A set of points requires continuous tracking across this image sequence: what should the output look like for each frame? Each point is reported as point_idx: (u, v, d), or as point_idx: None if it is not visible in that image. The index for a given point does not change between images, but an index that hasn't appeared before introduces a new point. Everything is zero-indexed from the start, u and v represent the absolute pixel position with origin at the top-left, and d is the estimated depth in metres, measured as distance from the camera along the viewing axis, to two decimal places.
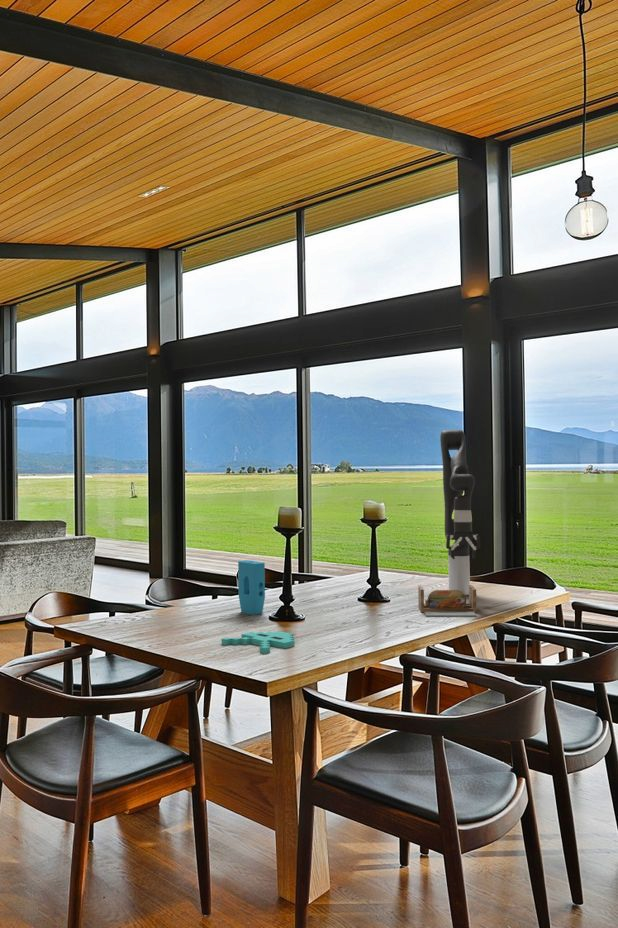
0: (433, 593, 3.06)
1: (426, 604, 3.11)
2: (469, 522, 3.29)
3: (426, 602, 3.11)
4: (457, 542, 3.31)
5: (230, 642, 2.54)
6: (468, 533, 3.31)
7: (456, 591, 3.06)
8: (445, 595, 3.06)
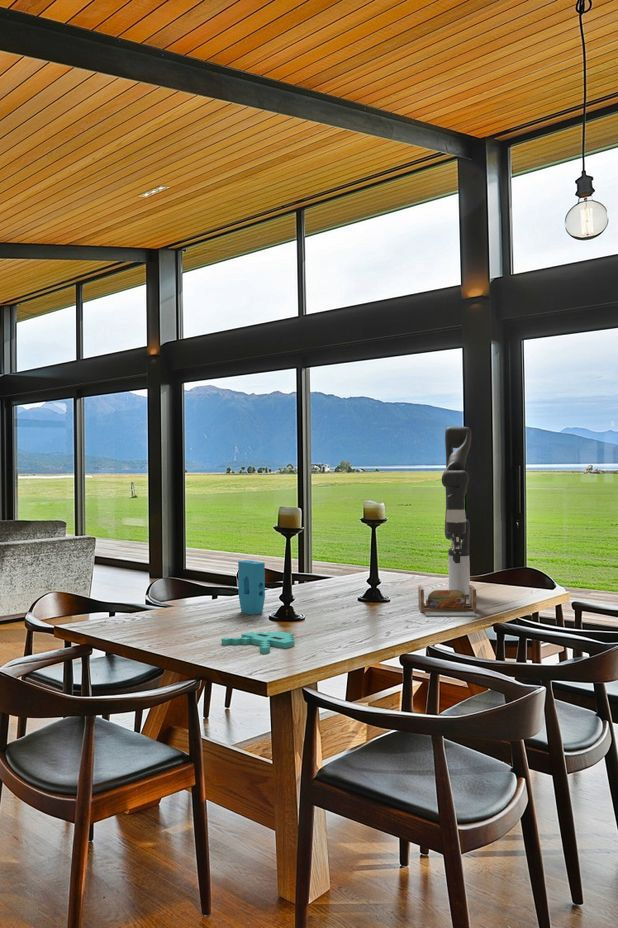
0: (433, 593, 3.06)
1: (427, 604, 3.11)
2: None
3: (427, 602, 3.11)
4: None
5: (230, 642, 2.54)
6: None
7: (456, 591, 3.06)
8: (444, 595, 3.06)
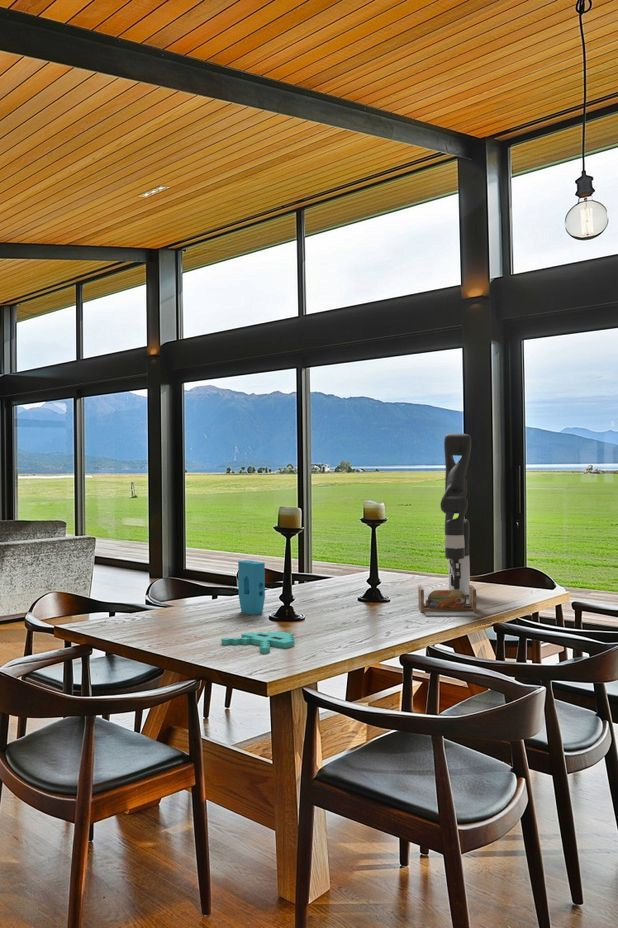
0: (433, 593, 3.06)
1: (426, 604, 3.11)
2: None
3: (426, 602, 3.11)
4: None
5: (230, 642, 2.54)
6: None
7: (456, 591, 3.06)
8: (444, 595, 3.06)
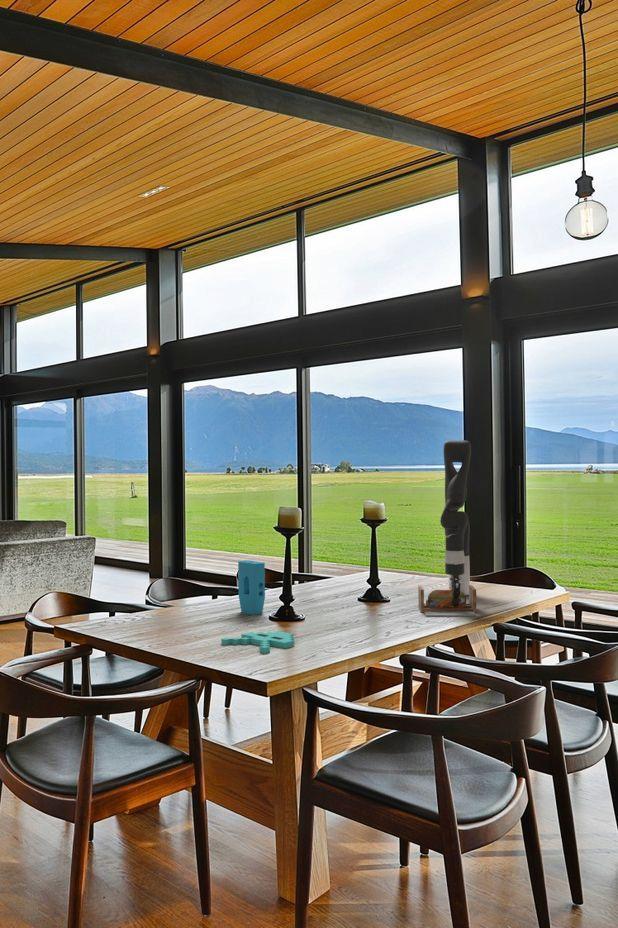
0: (433, 593, 3.06)
1: (426, 604, 3.11)
2: None
3: (426, 602, 3.11)
4: None
5: (230, 642, 2.54)
6: None
7: None
8: (445, 595, 3.06)
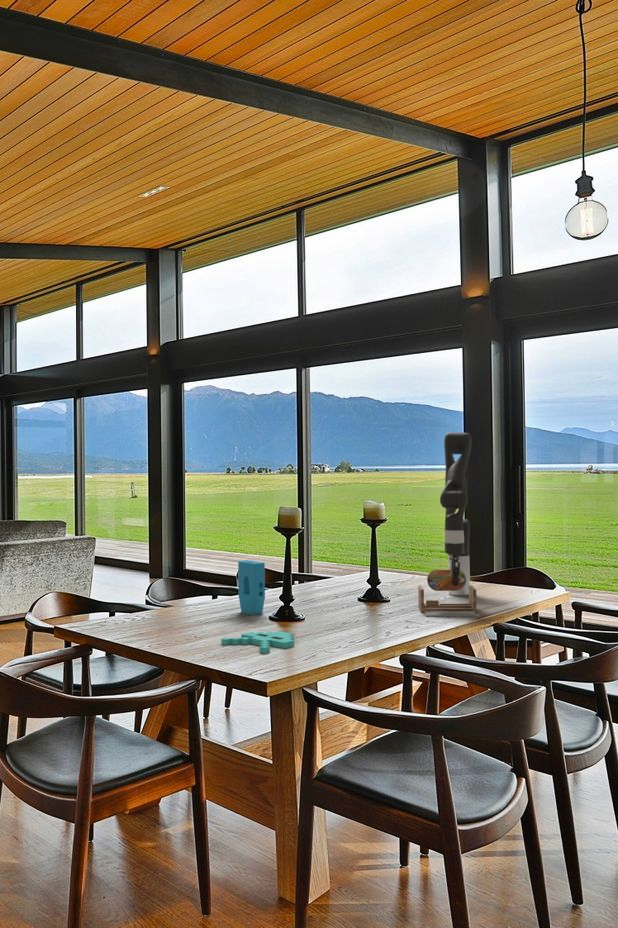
0: (433, 572, 3.06)
1: (426, 604, 3.11)
2: None
3: (426, 602, 3.11)
4: None
5: (230, 642, 2.54)
6: None
7: None
8: (444, 575, 3.06)
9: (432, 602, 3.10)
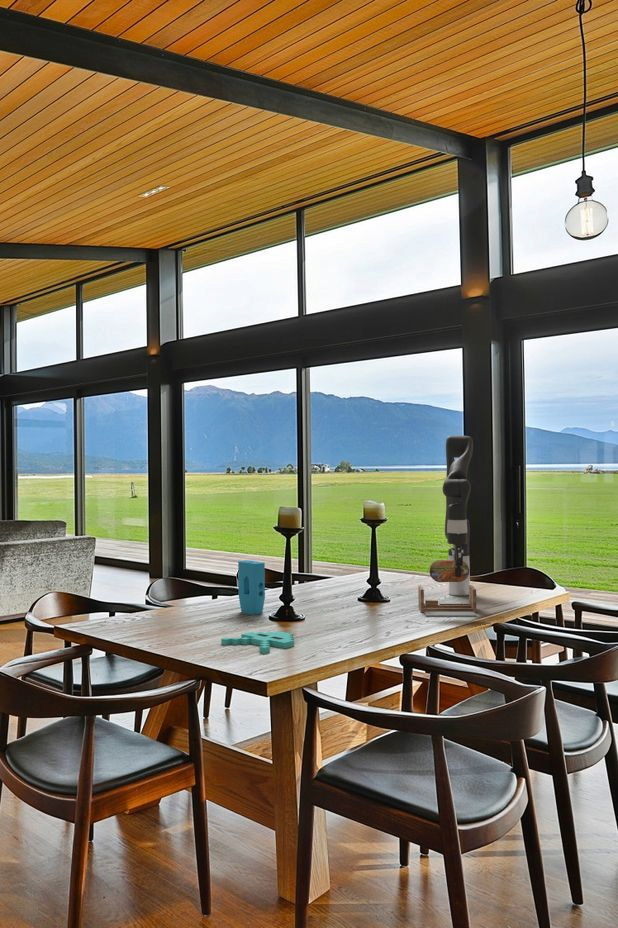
0: (435, 563, 2.98)
1: (425, 604, 3.11)
2: None
3: (425, 602, 3.11)
4: None
5: (230, 642, 2.54)
6: None
7: (459, 561, 2.97)
8: (447, 566, 2.98)
9: (431, 602, 3.10)
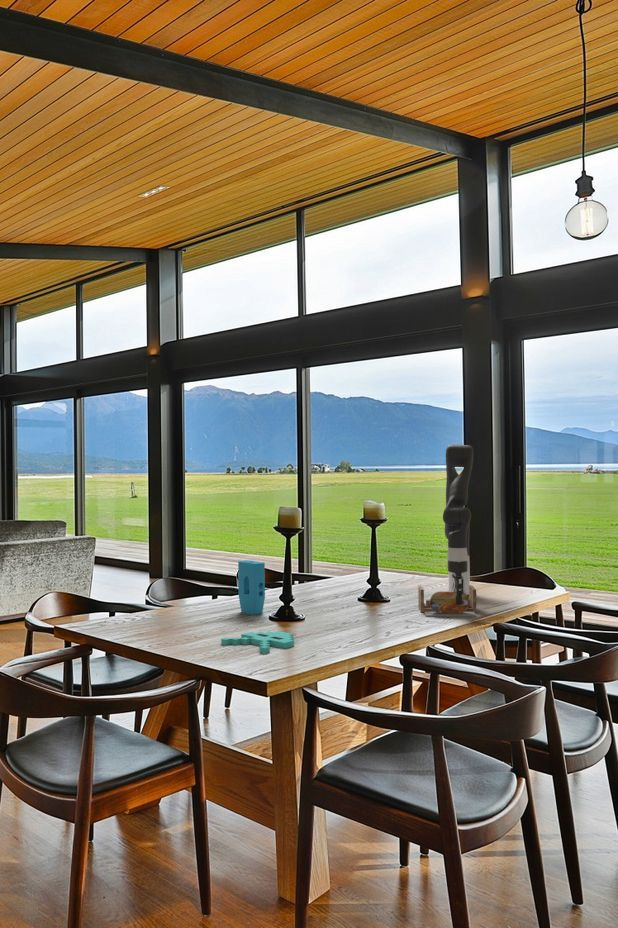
0: (435, 594, 2.99)
1: (426, 604, 3.11)
2: None
3: (426, 602, 3.11)
4: None
5: (230, 642, 2.54)
6: None
7: None
8: (447, 597, 2.98)
9: None
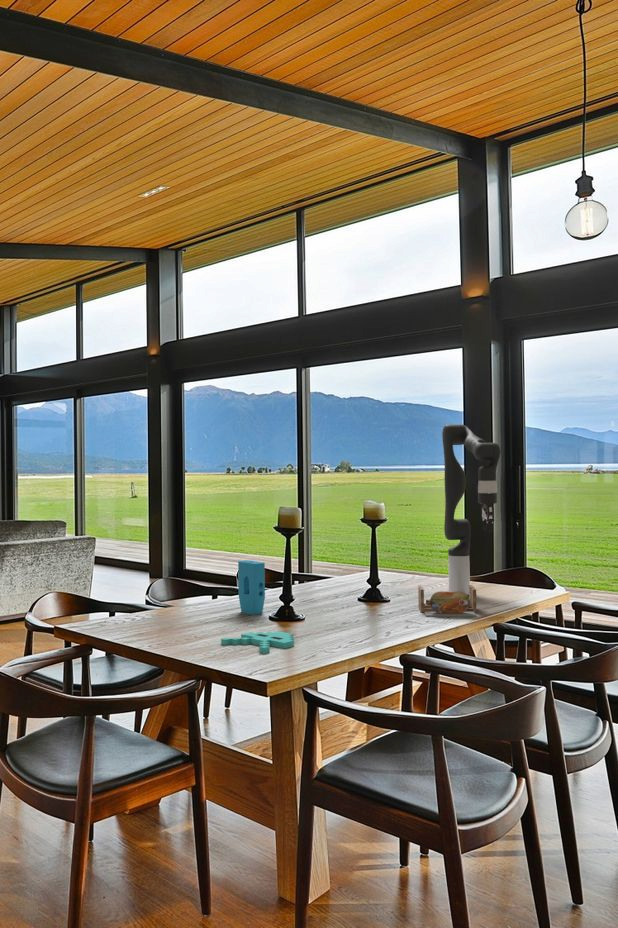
0: (435, 594, 2.99)
1: (426, 604, 3.12)
2: None
3: (426, 602, 3.12)
4: None
5: (230, 642, 2.53)
6: None
7: (459, 593, 2.98)
8: (447, 597, 2.98)
9: None
